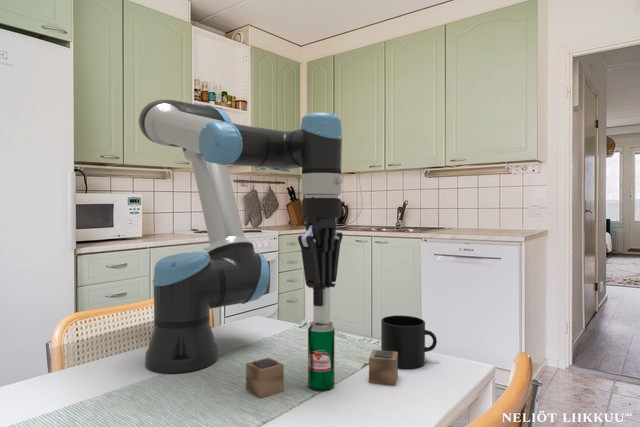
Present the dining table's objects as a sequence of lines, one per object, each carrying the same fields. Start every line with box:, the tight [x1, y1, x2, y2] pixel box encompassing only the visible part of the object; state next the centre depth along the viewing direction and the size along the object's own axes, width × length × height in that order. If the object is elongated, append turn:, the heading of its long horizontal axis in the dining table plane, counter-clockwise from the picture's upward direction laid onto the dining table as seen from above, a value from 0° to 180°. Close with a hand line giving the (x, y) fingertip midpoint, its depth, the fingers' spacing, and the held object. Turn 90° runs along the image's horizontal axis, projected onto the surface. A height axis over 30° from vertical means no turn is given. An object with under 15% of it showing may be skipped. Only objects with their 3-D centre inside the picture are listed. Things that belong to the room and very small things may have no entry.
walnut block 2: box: [368, 349, 399, 387], centre depth 86 cm, size 5×5×5 cm
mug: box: [380, 314, 438, 370], centre depth 96 cm, size 9×12×9 cm
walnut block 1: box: [245, 357, 285, 399], centre depth 81 cm, size 5×5×5 cm
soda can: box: [307, 321, 336, 392], centre depth 83 cm, size 5×5×12 cm
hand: (321, 321), depth 83 cm, fingers closed
